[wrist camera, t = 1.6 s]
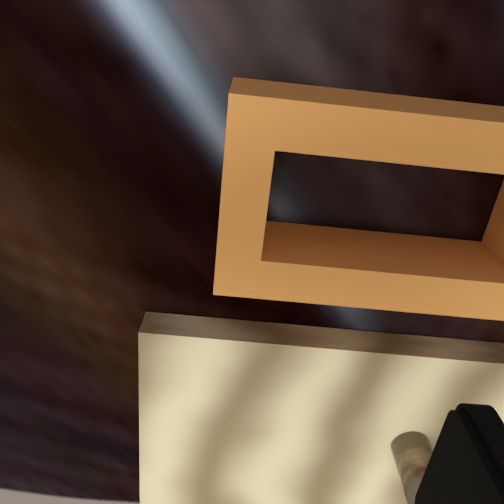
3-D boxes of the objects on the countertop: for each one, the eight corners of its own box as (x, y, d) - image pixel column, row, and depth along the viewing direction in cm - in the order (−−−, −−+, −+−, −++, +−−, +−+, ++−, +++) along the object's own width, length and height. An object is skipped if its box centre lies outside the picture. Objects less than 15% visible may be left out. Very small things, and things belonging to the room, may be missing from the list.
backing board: (574, 349, 29) (595, 371, 27) (488, 514, 36) (499, 540, 35) (145, 311, 28) (138, 332, 26) (145, 489, 35) (139, 515, 34)
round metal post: (433, 433, 30) (461, 499, 26) (423, 459, 31) (448, 527, 27) (395, 429, 30) (417, 496, 26) (386, 456, 31) (406, 524, 27)
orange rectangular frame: (570, 113, 23) (637, 137, 19) (504, 276, 27) (548, 324, 23) (233, 76, 22) (228, 93, 18) (219, 249, 26) (213, 294, 22)
